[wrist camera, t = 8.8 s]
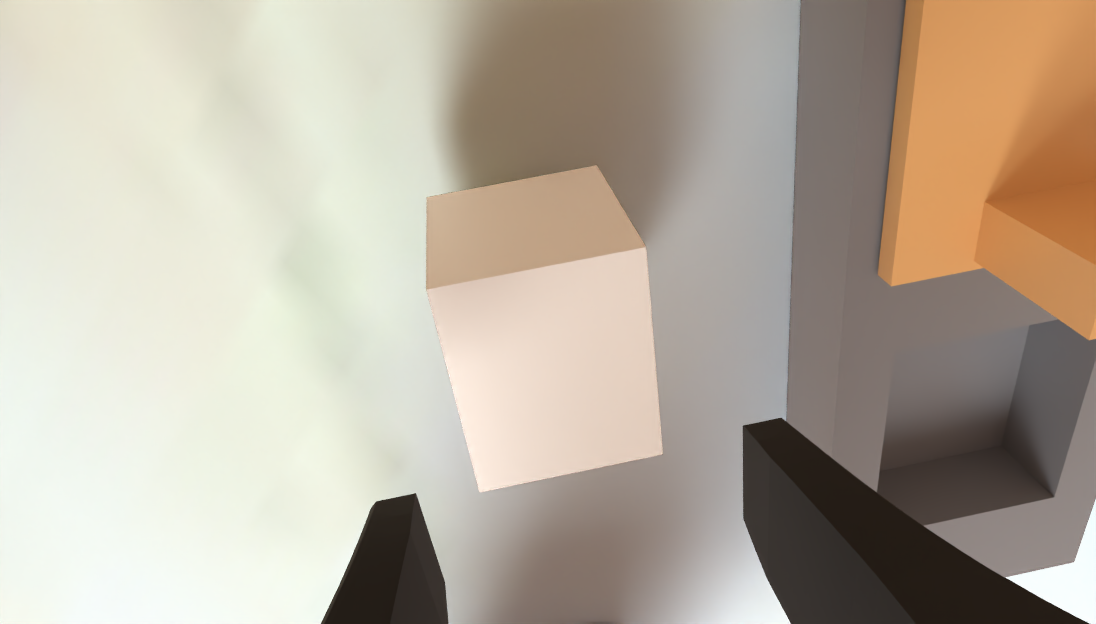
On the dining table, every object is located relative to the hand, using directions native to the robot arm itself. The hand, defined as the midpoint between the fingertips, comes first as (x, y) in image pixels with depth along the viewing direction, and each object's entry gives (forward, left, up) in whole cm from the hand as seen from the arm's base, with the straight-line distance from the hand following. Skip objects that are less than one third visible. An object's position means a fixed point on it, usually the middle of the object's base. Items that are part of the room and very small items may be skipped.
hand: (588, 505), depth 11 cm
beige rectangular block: (0, 0, -9) cm, 9 cm away
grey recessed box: (-4, -12, -9) cm, 16 cm away
